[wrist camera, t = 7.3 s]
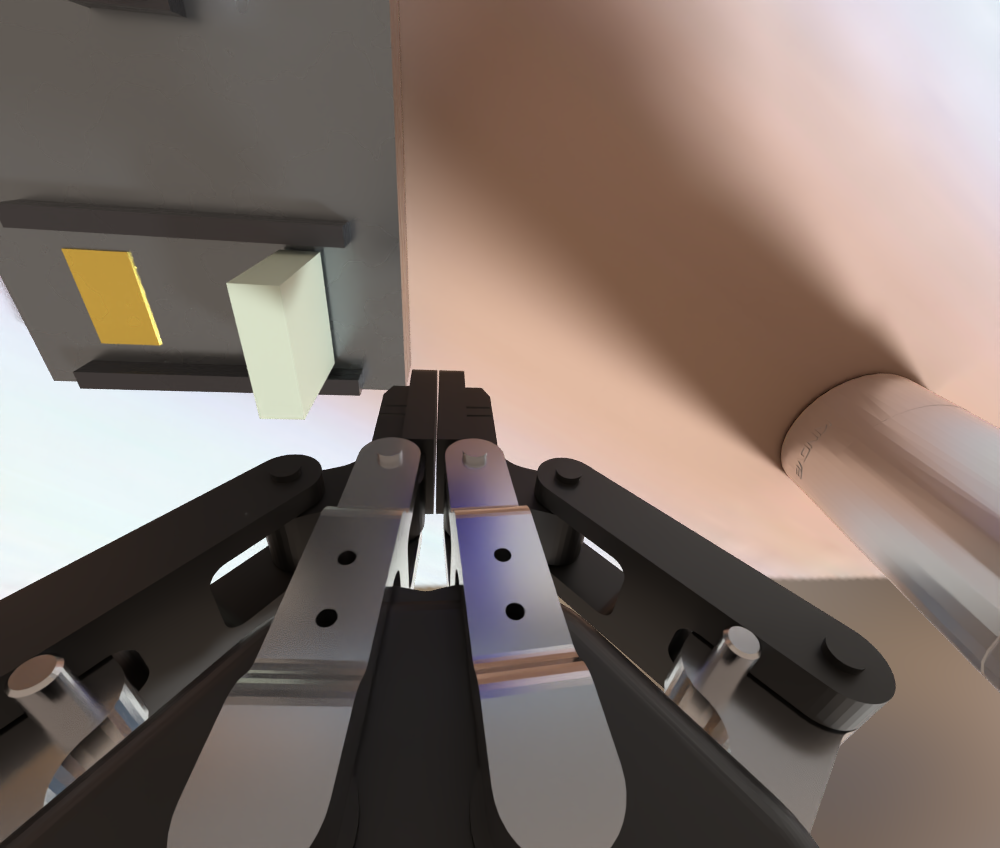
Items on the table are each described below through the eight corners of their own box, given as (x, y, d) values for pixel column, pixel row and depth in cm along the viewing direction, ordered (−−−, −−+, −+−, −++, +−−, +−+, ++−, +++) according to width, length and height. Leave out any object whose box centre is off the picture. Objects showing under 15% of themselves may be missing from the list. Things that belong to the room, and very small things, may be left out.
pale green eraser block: (320, 252, 18) (279, 285, 14) (334, 363, 21) (304, 419, 17) (279, 249, 18) (226, 282, 14) (299, 362, 21) (259, 418, 17)
